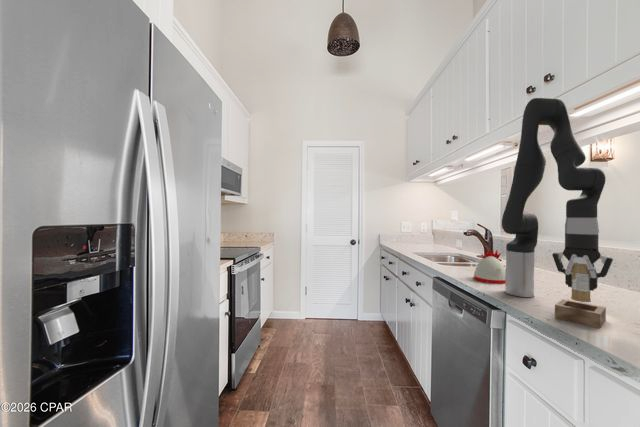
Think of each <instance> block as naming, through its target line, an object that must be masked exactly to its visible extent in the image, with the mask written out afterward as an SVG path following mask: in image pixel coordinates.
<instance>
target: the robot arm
mask: <svg viewBox="0 0 640 427" xmlns="http://www.w3.org/2000/svg"><path fill="white" fill-rule="evenodd" d="M521 122H522V123H521V130H520V131H521V132H520V133H521V134H520V142H519V147H518V153H517V157H516V162H515V166H514V170H513V176H512V182H511V187H510V191H509V195H508V197H507V202H506V205H505V208H504V211H503V214H502V218H501V228H502V230H503V231H504V232H505V233H506V234H509V235H515V238H514V239H513V240H511V241H509V242H507V243H506V245H505V246H506V247H505V248H506V249H505V250H506V251H505V252H506V253H505V271H506V275H505V284H504V285H505V286H504V288H505V293H506V294H508V295H511V296H515V297H521V298H534V297H535V250H536V247H537V245H538V238H539V237H538V236H539V235H538V234H539V221H538V219H539V218H538V217H537V215H536V214H535V213H533V212H531V211H525V207H526V204H527V200H528V199H529V197H530V196H532V194H533V192H534V191H535V190H536V189H537V187H538V186H539V185H540V184H541V182H542V180H543V177H544V174H545V169H546V165H547V159H546V156H545V153H544V151H543V149H542V146H541V144H540V141H539V136H538V134H539V127H540V126H549V127H550V128H551V130H552V131H553V136H552V138H551V141H550V145H549V146H550V152H551V154H552V157H553V159H554V160H555V163H556V165H557V180H558V184H559V185H560V187H561V188H562V189H564V190H566V191H571V192H572V191H576V192H577V191H581V193H580V195H579V197H575V198H571V199H569V200H567V202H566V205H565V217H566V218H565V224H564V250H563V251H562V252H561V251H560V252H554V253H552V254H551V255H552V259H553V260H554V264H555V266H556V269H557V271H558V272H559V273H563V274H564V275H565V276H564V277H565V280H564V282H565V285H567V287H568V288H571V277H572V268H573V265H574V263H573V262H572V261H573V260H574V258H575V257H583V258H585V261H587V264H586V266H587V268H588V270H589V272H590V275H591V278H590V290H591V291H595V290H596V289H598V279H599V278H605V277H606V276H607V274H608V272H609V270H610V269H611V266H612V264H613V261H614V258H613V257H611V256H610V257H609V256H604V255H603V254H601V252H600V251H599V233H600V230H599V229H600V228H599V222H598V204H599V201H600V198H601V195H602V193H603V191H604V187H605V184H606V175H605V172H604V171H603V170H602V169H600V168H599V167H580V166H582V165H583V164H584V163H585V161H586V158H587V157H586V154H585V152H584V150H583V149H582V147H581V145H580V143H579V142H578V140H577V139H576V137H575V134H574V130H573V128H572V123H571V120H570V116H569V113H568V110H567V106H566V104H565V102H564V101H563V100H562V99H559V98H549V97H547V98H546V97H534V98H532V99H529V101H528V102H527V104H526V105H525V108H524V110H523V115H522V121H521ZM563 256H564V257H565V258H566V259H567V260H568V264H567V265H566V268H564V267H565V266H564V265H563V262H562V259H563ZM598 260H601V264H603V265H602V268H601V270H600V272H598V271H597V270H596V269H597V268H596V266H595V263H596V262H597V261H598ZM588 263H589V264H588Z"/></svg>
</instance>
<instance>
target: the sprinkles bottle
mask: <svg viewBox="0 0 640 427" xmlns="http://www.w3.org/2000/svg"><path fill="white" fill-rule="evenodd" d="M572 262H573V263H574V265H573V268H572V273H571V275H572V277H571V287H570V288H571V297H570V299H571V300H572V301H576V302H581V303H591V302H592V301H591V300H592V299H591V291H592V290H590V278H591V275H590V272H589V270H588V268H587V266H586V264H587V261H585V258H583V257H575V258H574V260H573V261H572ZM588 264H589V263H588Z"/></svg>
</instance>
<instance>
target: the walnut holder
mask: <svg viewBox="0 0 640 427" xmlns="http://www.w3.org/2000/svg"><path fill="white" fill-rule="evenodd" d="M554 318H555V319H559V320H563V321H566V322H567V321H568V322H571V323H576V324H580V325H584V326H589V327H592V328H597V329H601V328H602V326H603V325H604V324H605V322H606V320H607V307H606V306H601V305H596V304H591V303H588V302H580V301H575V300H572V299H571V300H570V299H564V298H563V299H561V300H560V301H558V302H557V303H555V304H554Z"/></svg>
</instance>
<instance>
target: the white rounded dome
mask: <svg viewBox="0 0 640 427" xmlns="http://www.w3.org/2000/svg"><path fill="white" fill-rule="evenodd" d="M498 252H499V251H498V250H495V253H494V249H491V251H490V249H488V250H487V251H484V254H483V253H481V256H482V258H481V260H479V262H478V263H477V265H476V267H475V270H474V274H473V279H474V280H475V281H477V282H480V283H481V282H482V283H487V284H494V285H495V284H496V285H500V284H501V285H503V284H504V285H505V275H506V265H504V264H503V262H501V261H500V260H499V258H500V257H501V252H500V253H498Z"/></svg>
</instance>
